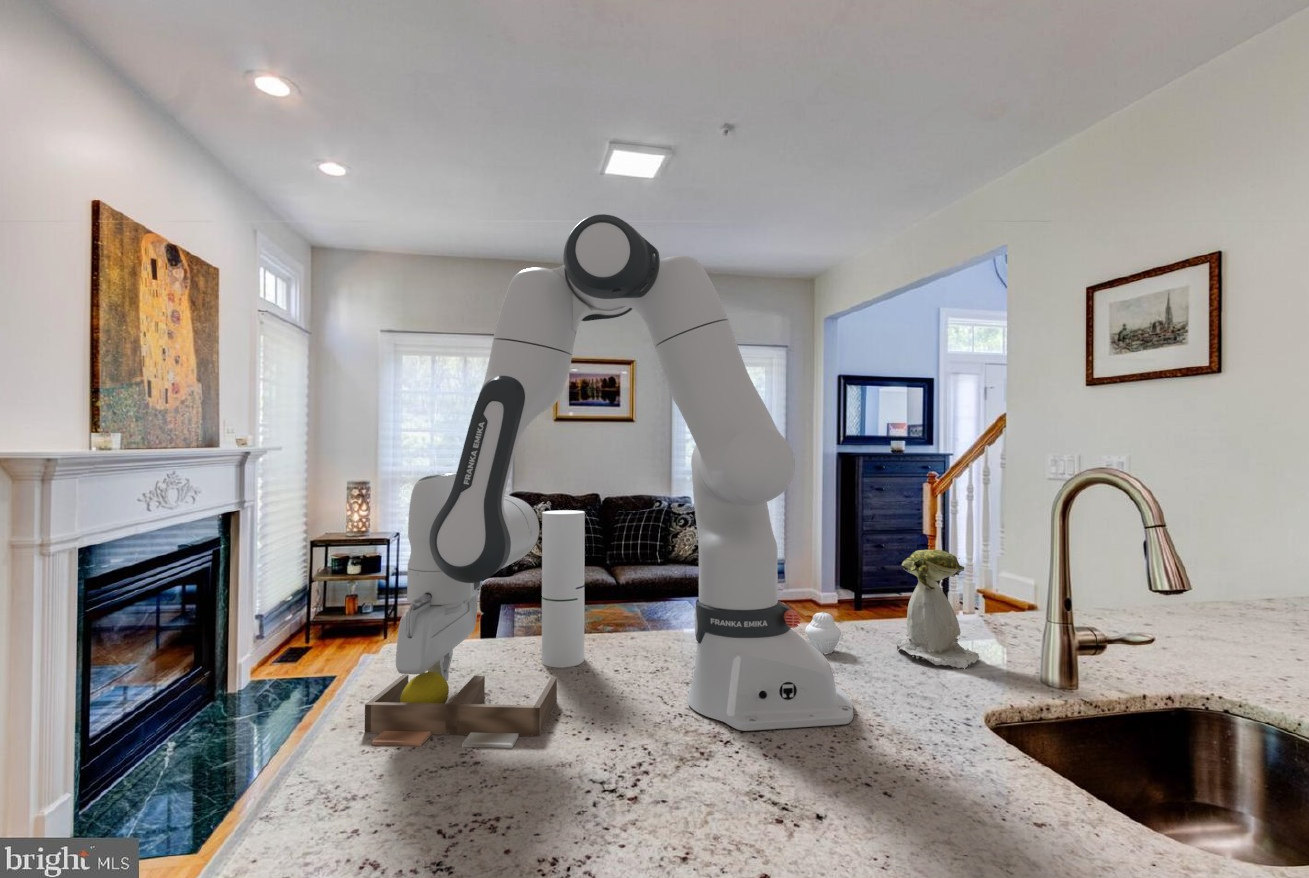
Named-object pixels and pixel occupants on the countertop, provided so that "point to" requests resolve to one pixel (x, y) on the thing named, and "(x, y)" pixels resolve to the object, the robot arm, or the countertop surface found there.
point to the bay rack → (456, 717)
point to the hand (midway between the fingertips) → (439, 684)
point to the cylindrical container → (563, 587)
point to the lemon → (426, 689)
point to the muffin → (823, 632)
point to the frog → (934, 611)
